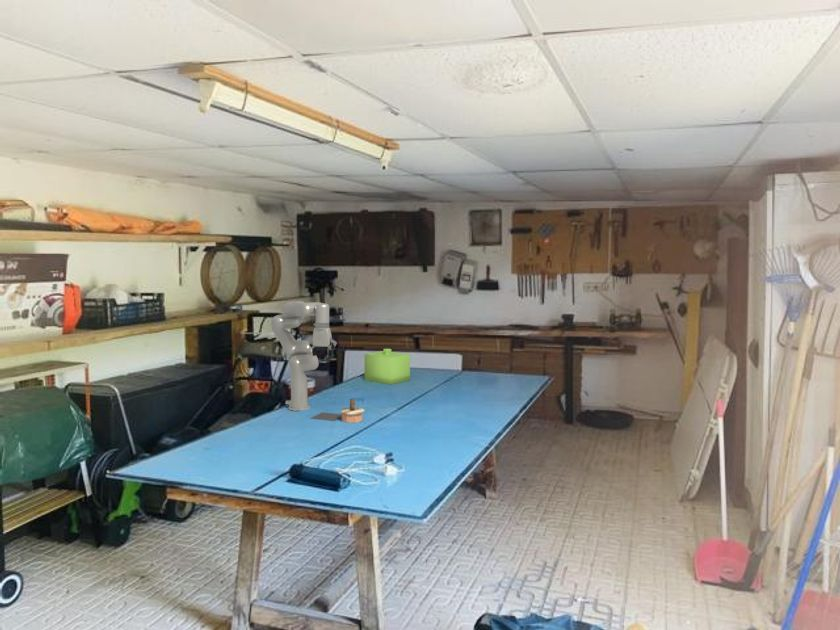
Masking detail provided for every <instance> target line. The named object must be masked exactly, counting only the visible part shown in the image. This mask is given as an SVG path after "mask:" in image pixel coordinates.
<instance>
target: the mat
mask: <svg viewBox="0 0 840 630" xmlns="http://www.w3.org/2000/svg"><path fill="white" fill-rule="evenodd" d="M309 419H311V420H320V421H329V422H336V421H337V420H339V419H342V413H331V412H320V413H318V414H316V415H314V416H312V417H310V418H309Z"/></svg>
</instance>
